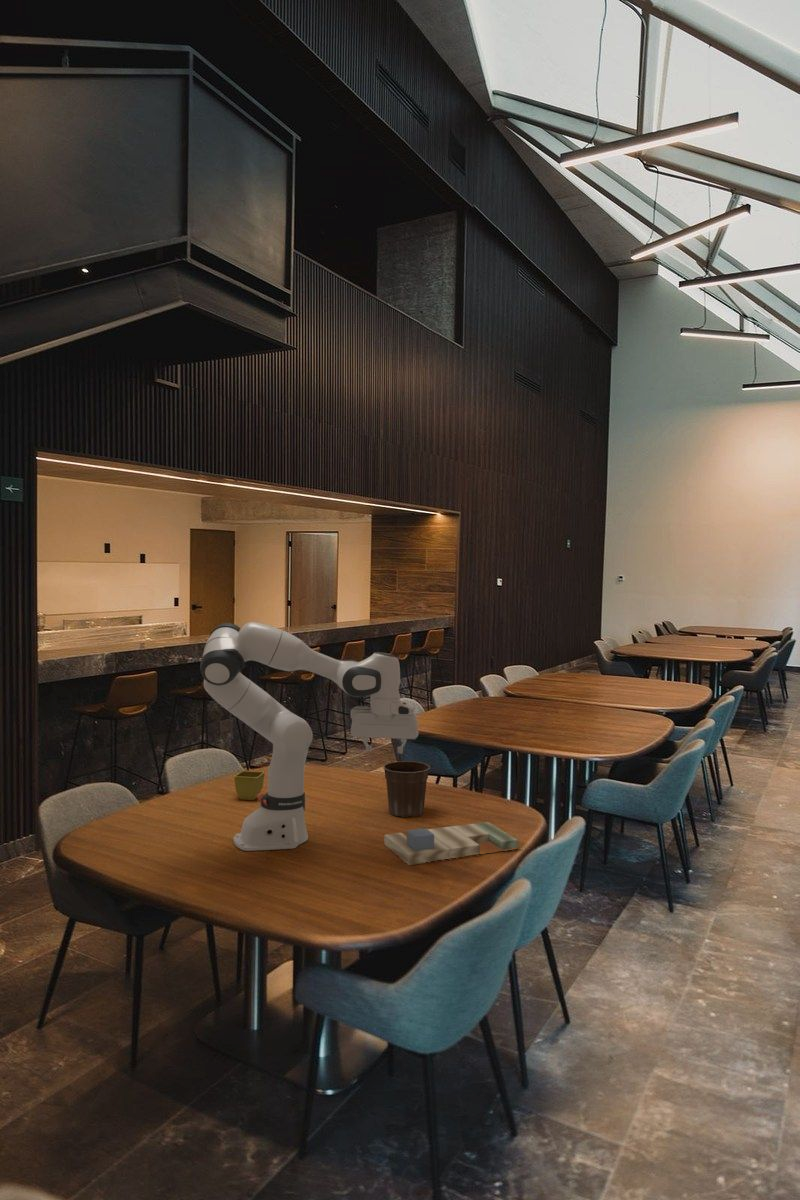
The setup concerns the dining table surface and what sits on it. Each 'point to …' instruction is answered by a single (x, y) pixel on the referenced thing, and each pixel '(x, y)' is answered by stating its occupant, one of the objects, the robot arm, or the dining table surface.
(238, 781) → the flower pot
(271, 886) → the dining table surface
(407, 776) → the plant pot
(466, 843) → the wooden cutout board
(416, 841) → the slate block
